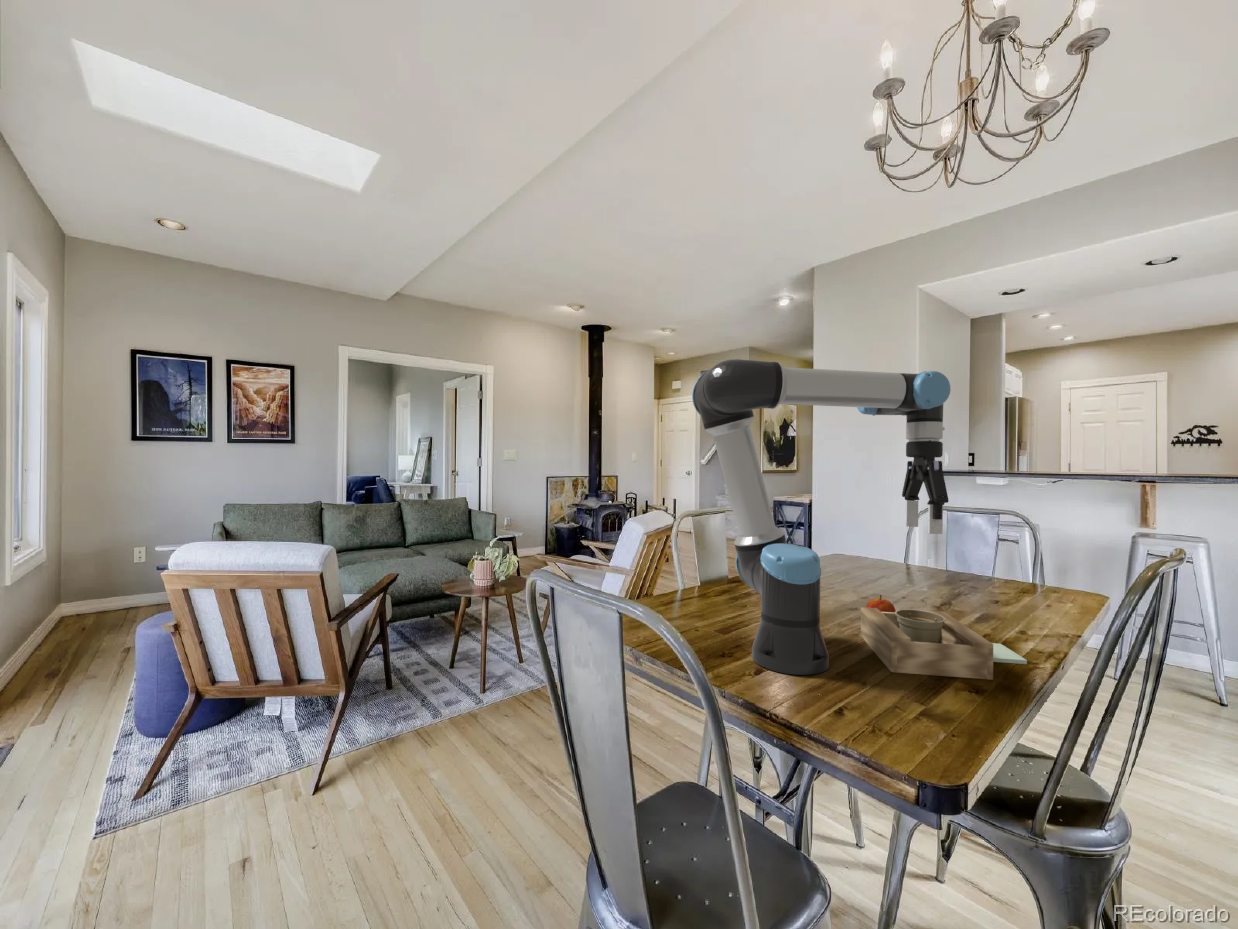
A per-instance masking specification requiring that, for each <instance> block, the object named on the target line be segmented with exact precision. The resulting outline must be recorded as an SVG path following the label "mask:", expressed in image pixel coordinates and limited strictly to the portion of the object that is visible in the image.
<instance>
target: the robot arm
mask: <svg viewBox="0 0 1238 929" xmlns="http://www.w3.org/2000/svg"><path fill="white" fill-rule="evenodd" d="M950 394H951V382H950V380H949V378H948V377H947V376H946V375H945V374H944V373H942V372H940V371H936V370H929V371H928V370H927V371H922V372H920V373H919V372H918V373H909V372H908V373H906V372H905V373H903V372H885V371H884V372H883V371H863V370H862V371H861V370H860V371H859V370H846V369H845V370H843V369H841V370H840V369H823V368H820V369H819V368H801V367H784V366H783V365H782V363H780V362H777V361H765V360H753V359H739V358H737V359H735V358H734V359H733V358H732V359H726V360H723V361H721V362H719V363H717V364H716V365H713V367H712V368H710V369H709V370H706V371H705V372H704V373H702V374H701V375H700V376H699V378H698V379H697V380H696V382H695V384H694V386H693V389H692V392H691V398H692V405H693V406H694V409H695V410H696V412H697V413H698V415H700V417H701V421H702V424H703V428H704V431H705V432H706V433H708V434H710V435H711V436H712V437H713V441H714V443H715V448H716V449H715V450H716V452H717V456H718V460H719V464H720V468H721V472H722V476H723V479H724V483H725V484H724V485H725V488H726V491H727V494H728V495H727V496H728V498H729V502H730V506H731V510H732V513H733V518H734V520H735V525H736V528H737V536H736V538H735V540H734V541H733V544H734V546H735V547H734V548H735V552H736V556H735V569H736V572H737V574H738V576H739V578H740V580H741V581H742V582H743V584H745V585H746V586H747V587H748V588H749V589H751V590H752V591H755V592H756V593H758V594H759V596H760V622H759V625H758V629H757V631H756V634H755V637H754V640H753V643H752V647H751V659H752V660H753V661H754V663H756V664H757V665H759V667H760V666H761V667H763V668H764V667H765V669H767V670H771V671H772V672H777V673H780V674H782V673H783V674H787V675H796V676H797V675H799V676H809V675H816V674H820V673H823V672H825V671H827V670H828V669H829V667H830V665H829V664H830V661H829V660H830V655H829V651H828V648H827V645H826V643H825V639H824V636H823V632H822V630H821V626H820V622H821V576H822V567H821V559H820V556H819V555H818V553H817V552H816V551H814V550H813V549H811V548H809V547H808V546H807V547H806V546H800V545H798V544H793V543H787V539H786V535H785V532H784V531H783V530H782V529H781V528H779V527H778V526H776V523H775V519H774V516H773V515H774V514H773V512H772V508H771V504H770V500H769V497H768V492H767V488H766V485H765V481H764V477H763V473H762V470H761V466H760V462H759V457H758V454H757V451H756V450H757V449H756V446H755V442H754V439H753V438H754V437H753V434H752V431H751V424H752V422H753V420H754V419H755V416H754V412H753V410H757V409H772V410H773V409H776V408H778V407H779V405H794V406H795V405H796V406H819V407H820V406H822V407H845V408H857V410H858V411H859V413H860V414H862V415H867V416H868V415H869V416H870V415H872V416H906V418H905V419H906V423H905V424H906V425H905V439H906V440H907V442H906V444H905V456H906V457H907V458H913V460H908V461H907V464H906V473H905V478H904V483H903V486H902V487H903V488H902V493H901V497H903V498H904V500H905V518H904V519H905V522H904V523H905V525H904V526H905V527H907V528H910V527H912V528H914V527H915V528H918V527H919V501H920V496H919V494H920V492H921V489H922V486H923V484H924V486H925V491H926V492H927V497H928V499H929V500H928V501H927V505H928V508H927V509H928V511H927V512H928V514H927V515H928V517H927V534H929V535H943V534H944V533H943V525H944V522H943V521H944V520H943V518H944V505H945V503H949V496H948V492H947V491H948V490H947V486H946V482H945V477H944V472H943V461H942V460H936V458H942V457H943V450H944V447H943V446H944V445H943V444H944V443H943V442H942V441H940V440H942V439H943V435H944V434H943V433H944V432H943V431H945V427H944V404H945V403H946V402H947V400H948V399H949V397H950V396H951V395H950Z"/></svg>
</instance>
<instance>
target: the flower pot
mask: <svg viewBox="0 0 1238 929" xmlns="http://www.w3.org/2000/svg"><path fill="white" fill-rule="evenodd" d="M928 611H929V610H920V609H912V608H906V609H905V608H904V609H896V611H895V615H896V616H897V620H898V622H899V626H900V630H902V631H903V632H904V633H905V634H906V635H907V636H908V637H909V638H910V639H911V641H913V642H928V643H940V642H939V637H940V632H941V628H942V627H943V622H945V621H946V619H945V618H944V617H943V616H941V615H939V614H936V613H932V612H928Z"/></svg>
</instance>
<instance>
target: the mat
mask: <svg viewBox="0 0 1238 929" xmlns="http://www.w3.org/2000/svg"><path fill="white" fill-rule="evenodd" d="M991 643H992V644H993V663H1005V664H1018V665H1019V664H1020V665H1027V664H1028V660H1027V659H1025V657H1022V656H1021V655H1019V654H1018V653H1016V652H1015V651H1013V650H1012V649H1010V648H1008V647H1007V646H1005V645H1003V644H1002V643H995V642H991Z"/></svg>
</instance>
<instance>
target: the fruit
mask: <svg viewBox="0 0 1238 929" xmlns="http://www.w3.org/2000/svg"><path fill="white" fill-rule="evenodd" d="M865 608H877V609H878V610H879V611H880V612H895V611H897V609H896V607H895V605H894V604H893V603H892V602H891V601H890V600H888V599H886V598H882V594H880V595H879V597H876V598H872V599H871V600H869V601H867V603H866V605H865Z"/></svg>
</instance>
